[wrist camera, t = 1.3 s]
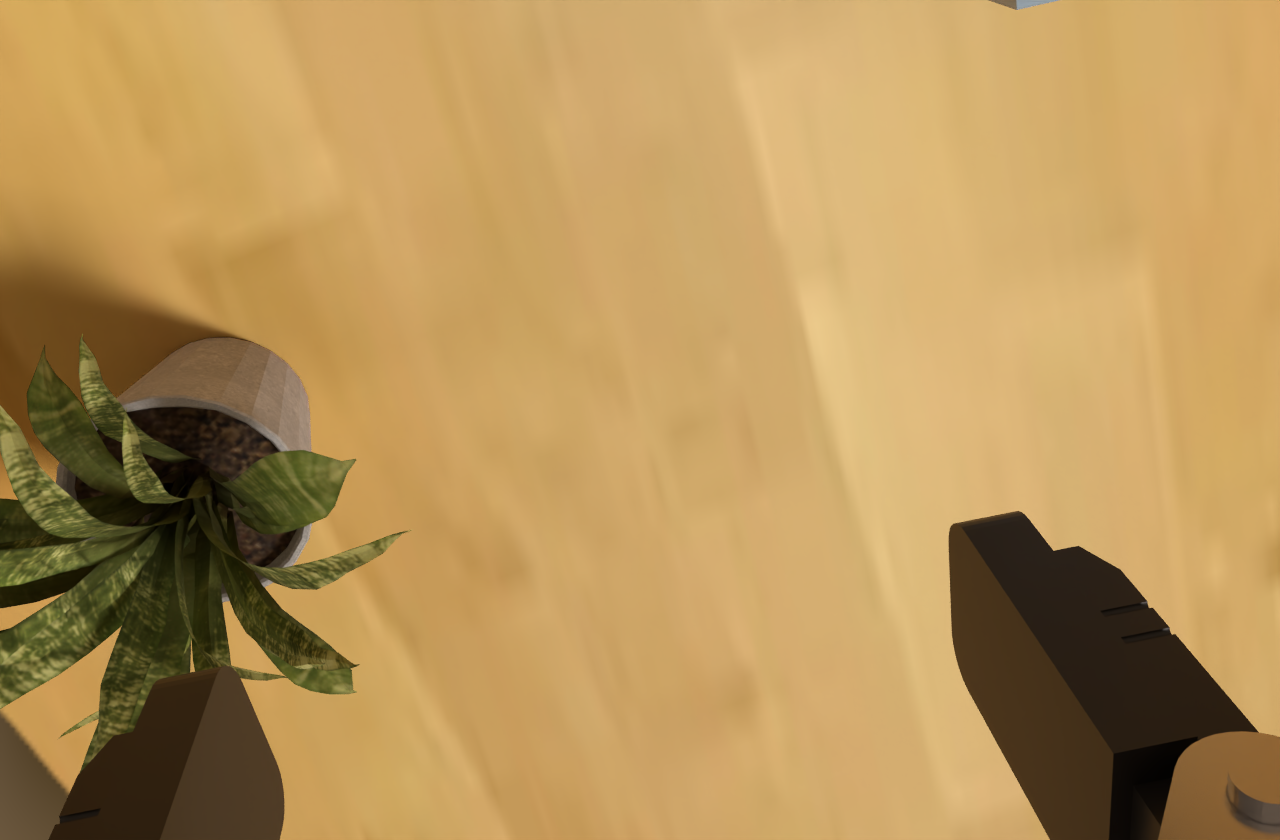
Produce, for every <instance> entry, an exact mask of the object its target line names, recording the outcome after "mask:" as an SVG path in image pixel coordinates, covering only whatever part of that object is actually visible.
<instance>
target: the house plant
mask: <svg viewBox="0 0 1280 840" xmlns="http://www.w3.org/2000/svg"><path fill="white" fill-rule="evenodd" d="M79 351H80V361H79V378H80V387H81V396H82V399H83V402H84V405H85V408H86V410H87V412H88V414H89V416H90V418H91V419H90V418H89V416H88V414H87V412H86V411H85V409H84V407H83V406H82V404H81V402H80V401H79V400H78V398H77V397H76V396H75V395H74V393H73V392H72V391H71V390H70V388H69V387H68V386H67V385H66V384H65V383H64V382H63V381H62V380H61V379H60V378H59V377H58V376H57V375H56V374H55V373H54V371H53V369H52V368H51V366H50V365H49V363H48V361H47V360H46V358H45V345H44V348H43V351H42V354H41V358H40V361H39V363H38V366H37V368H36V371H35V373H34V376H33V379H32V381H31V384H30V386H29V389H28V391H27V405H28V415H29V418H30V421H31V424H32V427H33V430H34V433H35V434H36V436H37V437H38V438H39V440H40V441H41V443H42V444H43V446H44V447H45V448H46V449H47V450H48V451H49V452H50V453H51V454H52V455H53V456H54V457H55V458H56V459H57V460H58V461H59V462H60V463H59V465H58V467H57V477H56V483H55V482H54V481H53V480H52V479H51V478H50V477H49V476H48V475H47V474H46V473H45V472H44V471H43V470H42V469H41V468H40V466H39V465H38V463H37V461H36V459H35V457H34V455H33V453H32V451H31V449H30V447H29V445H28V443H27V441H26V439H25V437H24V435H23V433H22V431H21V429H20V427H19V426H18V425H17V424H16V423H15V421H14V420H13V419H12V418H11V417H10V416H9V415H8V414H7V412H6V411H5V410H4V409H3V408H2V407H1V405H0V452H1V455H2V458H3V461H4V464H5V467H6V471H7V474H8V476H9V479H10V482H11V485H12V488H13V491H14V493H15V495H16V496H17V498H18V500H11V499H0V608H6V607H11V606H17V605H22V604H28V603H34V602H38V601H41V600H44V599H47V598H50V597H53V596H56V595H59V594H62V593H65V592H66V593H65V594H63V595H62V596H60V597H59V598H57V599H56V600H54V601H53V602H51V603H50V604H48V605H47V606H45V607H43V608H42V609H40V610H39V611H37V612H36V613H34V614H33V615H31V616H29V617H28V618H26V619H25V620H23V621H22V622H20V623H18V624H17V625H15V626H14V627H12V628H10V629H6V630H2V631H0V709H1V708H3V707H4V706H6V705H8V704H9V703H11V702H13V701H14V700H16V699H17V698H19V697H21V696H22V695H24V694H26V693H28V692H29V691H31V690H33V689H35V688H36V687H38V686H40V685H42V684H43V683H45V682H47V681H49V680H50V679H52V678H54V677H56V676H58V675H59V674H61V673H62V672H63V671H65V670H66V669H68V668H69V667H70V666H72V665H73V664H75V663H76V662H77V661H79V660H80V659H82V658H83V657H84V656H86V655H87V654H89V653H90V652H91V651H92V650H93V649H95V648H96V647H97V646H98V645H100V644H101V643H102V642H103V641H104V640H106V639H107V638H108V637H109V636H110V635H112V634H113V633H114V632H115V631H116V630H117V629H118V628H119V627H121V626H122V627H121V630H120V632H119V635H118V638H117V640H116V643H115V646H114V648H113V651H112V654H111V657H110V660H109V662H108V665H107V668H106V671H105V674H104V677H103V680H102V683H101V689H100V704H99V711H97V712H96V713H94V714H92V715H90V716H89V717H87V718H85V719H84V720H82V721H81V722H79V723H78V724H76V725H75V726H73V727H72V728H70V729H69V730H68V731H66V732H65V733H64V734H63V735H61V736H60V737H62V736H64V735H65V734H67V733H70V732H72V731H74V730H76V729H78V728H80V727H82V726H84V725H86V724H88V723H90V722H92V721H94V720H97V719H99V723H98V725H97V728H96V730H95V733H94V735H93V738H92V741H91V743H90V746H89V748H88V751H87V754H86V757H85V760H84V763H83V765H82V768H81V771H82V770H83V769H84V768H85V767H86V766H87V765H88V763H89V762H90V761H91V760H92V759H93V758H94V757H95V756H96V755H97V753H98V752H99V751H100V750H101V749H102V748H103V747H104V746H105V745H106V743H107V742H108V741H109V740H110V739H111V738H112V737H113V736H114V735H119V734H124V733H129V732H133V730H134V728H135V725H136V723H137V721H138V718H139V716H140V713H141V711H142V709H143V706H144V704H145V701H146V699H147V697H148V694H149V692H150V690H151V688H152V686H153V684H154V683H155V682H156V681H157V680H159V679H161V678H166V677H171V676H176V675H181V674H186V673H190V655H191V640H192V651H193V662H194V668H195V672H197V671H202V670H207V669H212V668H217V667H222V666H230V667H232V668H233V669H234V670H235V671H236V672H237V674H238V675H239V677H240V678H244V679H251V680H266V681H267V680H272V679H278V678H288V679H290V680H291V681H292V682H293V683H294V684H296V685H298V686H300V687H303V688H305V689H308V690H310V691H314V692H320V693H325V694H351V693H355V692H356V691H354V690H353V683H352V670H351V669H350V668H353V667H356V666H358V665H360V664H358V665H354V664H353V663H351V662H350V661H348V660H347V659H346V658H344V657H343V656H342V655H340V654H339V653H337V652H336V651H335V650H334V649H333V648H332V647H331V646H330V645H329V644H327V643H326V642H325V641H324V640H322V639H321V638H320V637H319V636H317V635H316V634H315V633H313V632H312V631H310V630H309V629H308V628H306V627H305V626H303V625H302V624H301V623H299V622H298V621H297V620H295V619H294V618H293V617H292V616H290V615H289V614H288V613H286V612H285V611H284V610H283V609H281V607H280V606H279V605H278V604H277V602H276V601H275V600H274V599H273V598H272V596H271V595H270V594H269V593H268V591H267V590H266V589H265V588H264V587H266V586H268V585H269V584H271V583H273V582H274V583H276V584H279V585H283V586H286V587H289V588H292V589H319V588H321V587H323V586H325V585H328V584H330V583H332V582H334V581H336V580H337V579H339V578H340V577H342V576H343V575H345V574H346V573H348V572H349V571H351V570H353V569H355V568H357V567H359V566H361V565H363V564H365V563H367V562H369V561H371V560H373V559H374V558H376V557H378V556H379V555H381V554H383V553H384V552H385V551H386V550H387V548H388V547H389V546H390V545H391V544H392V543H393V542H394V541H395V540H396V539H397V538H398V537H399V536H400V535H401V534H402V533H405V532H408V531H405V532H400V533H396V534H393V535H389V536H387V537H384V538H382V539H379V540H376V541H374V542H371V543H369V544H366V545H363V546H360V547H356V548H353V549H350V550H348V551H345V552H342V553H340V554H337V555H334V556H331V557H329V558H325V559H321V560H318V561H314V562H310V563H305V564H300V565H295V566H292V565H293V564H294V563H295V562H296V561H297V559H298V558H299V556H300V554H301V552H302V550H303V549H304V547H305V545H306V543H307V541H308V540H309V536H310V531H311V526H312V523H313V522H316V521H318V520H321V519H323V518H326V517H327V515H328V514H329V513H330V512H331V510H332V509H333V508H334V506H335V504H336V501H337V498H338V496H339V493H340V490H341V487H342V485H343V482H344V479H345V477H346V474H347V472H348V471H349V470H350V468H351V467H352V465H353V464H354V462H355V461H356V459H352V460H346V461H339V460H336V459H333V458H329V457H326V456H323V455H319V454H316V453H313V452H311V430H310V411H309V403H308V396H307V394H306V392H305V389H304V387H303V385H302V382H301V380H300V378H299V377H298V376H297V375H296V373H295V372H294V371H293V370H292V368H291V367H290V366H289V365H288V364H287V363H286V362H285V361H284V360H282V359H281V358H280V357H278V356H277V355H276V354H274V353H273V352H272V351H270V350H268V349H266V348H264V347H261V346H259V345H257V344H255V343H253V342H249V341H245V340H240V339H235V338H230V337H228V338H206V339H203V340H199V341H195V342H192V343H188V344H187V345H185V346H183V347H181V348H180V349H178V350H176V351H175V352H173V353H171V354H170V355H169V356H168V357H166V358H165V359H164V360H163V361H161V362H160V363H159V364H158V365H157V366H155V367H154V368H153V369H152V370H150V371H149V372H148V373H147V374H145V375H144V376H143V377H142V378H141V379H139V380H138V381H137V382H136V383H134V384H133V385H132V386H131V387H129V388H128V389H127V390H126V391H125V392H123V393H122V394H121V395H120V396H118V397H117V398H115V397H114V396H113V395H112V393H111V392H110V391H109V390H108V388H107V387H106V385H105V384H104V383H103V380H102V377H101V373H100V370H99V367H98V364H97V361H96V358H95V356H94V355H93V354H92V352H91V351H90V350H89V348H88V347H87V345H86V344H85V342H84V341H83V333H82V336H81V339H80V345H79ZM410 531H411V530H410ZM226 601H230V603H231V605H232V608H233V610H234V613H235V615H236V616H237V618H238V620H239V621H240V623H241V625H242V626H243V628H244V630H245V632H246V633H247V634H248V635H249V636H251V637H252V638H253V639H254V640H255V641H256V642H257V643H258V644H259V646H260V647H261V648H262V650H263V651H264V652H265V653H266V655H267V656H268V657H269V658H270V660H271V661H272V662H273V663H274V664H275V665H276V667H277V668H278V669H279V670H280V671H281V672H282V673H283V674H284V675H285V676H286V677H285V676H280V675H274V674H267V673H261V672H256V671H252V670H247V669H243V668H238V667H234V666H231V661H230V652H229V645H228V638H227V632H226V625H225V619H224V612H223V605H222V602H226ZM60 737H59V738H60ZM81 771H80V772H81Z"/></svg>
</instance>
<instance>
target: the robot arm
mask: <svg viewBox="0 0 1280 840" xmlns="http://www.w3.org/2000/svg"><path fill="white" fill-rule="evenodd" d="M949 566H950V594H951V622H952V638H953V645H954V650H955V654H956V659H957V662H958V666H959V669H960V672H961V675H962V678H963V680H964V682H965V685H966V687H967V689H968V691H969V693H970V695H971V696H972V698H973V700H974V702H975V704H976V706H977V707H978V709H979V711H980V713H981V715H982V716H983V718H984V720H985V722H986V724H987V726H988V727H989V729H990V731H991V733H992V735H993V736H994V738H995V740H996V742H997V744H998V746H999V747H1000V749H1001V751H1002V753H1003V755H1004V757H1005V758H1006V760H1007V762H1008V764H1009V766H1010V767H1011V769H1012V771H1013V773H1014V775H1015V777H1016V778H1017V780H1018V782H1019V784H1020V786H1021V787H1022V789H1023V791H1024V793H1025V795H1026V797H1027V798H1028V800H1029V802H1030V804H1031V806H1032V807H1033V809H1034V811H1035V813H1036V815H1037V817H1038V818H1039V820H1040V822H1041V824H1042V826H1043V828H1044V829H1045V831H1046V833H1047V835H1048V837H1049V838H1050V840H1280V737H1277V736H1274V735H1269V734H1263V733H1259V732H1258V731H1257V730H1256V729H1255V727H1254V726H1253V725H1252V724H1251V723H1250V722H1249V720H1248V719H1247V718H1246V717H1245V716H1244V715H1243V713H1242V712H1241V711H1240V710H1239V709H1238V707H1237V706H1236V705H1235V704H1234V703H1233V702H1232V700H1231V699H1230V698H1229V697H1228V696H1227V695H1226V693H1225V692H1224V691H1223V690H1222V689H1221V687H1220V686H1219V685H1218V684H1217V683H1216V682H1215V680H1214V679H1213V678H1212V677H1211V676H1210V675H1209V673H1208V672H1207V671H1206V670H1205V669H1204V668H1203V666H1202V665H1201V664H1200V663H1199V662H1198V660H1197V659H1196V658H1195V657H1194V656H1193V655H1192V653H1191V652H1190V651H1189V650H1188V649H1187V648H1186V646H1185V645H1184V644H1183V643H1182V642H1181V640H1180V639H1179V638H1178V637H1177V636H1176V635H1175V634H1173V635H1172V634H1171V633H1170V629H1169V626H1168V625H1167V624H1166V623H1165V622H1164V620H1163V619H1162V618H1161V617H1160V616H1159V615H1158V613H1157V612H1156V611H1155V610H1154V609H1153V608H1149V607H1148V604H1147V600H1146V599H1145V598H1144V597H1143V596H1142V595H1141V593H1140V592H1139V591H1138V590H1137V589H1136V588H1135V586H1134V585H1133V584H1132V583H1131V582H1130V580H1129V579H1128V578H1127V577H1126V576H1125V575H1124V573H1123V572H1122V571H1121V570H1120V569H1118V568H1116V567H1115V566H1113V565H1111V564H1109V563H1108V562H1106V561H1104V560H1102V559H1101V558H1099V557H1097V556H1095V555H1094V554H1092V553H1090V552H1088V551H1086V550H1085V549H1083V548H1081V547H1079V546H1076V547H1071V548H1066V549H1061V550H1056V551H1053V550H1052V548H1051V547H1050V546H1049V545H1048V543H1047V542H1046V541H1045V539H1044V538H1043V537H1042V536H1041V534H1040V533H1039V532H1038V530H1037V529H1036V528H1035V527H1034V525H1033V524H1032V523H1031V521H1030V520H1029V519H1028V518H1027V517H1026V515H1025V514H1023V513H1022V512H1019V511H1016V512H1011V513H1005V514H1000V515H995V516H990V517H985V518H980V519H975V520H970V521H965V522H960V523H955V524H953V525H952V526H951V528H950V531H949ZM59 817H60V824H57V825H55V827H54V829H53V831H52V833H51V835H50V838H49V840H280V835H281V831H282V826H283V820H284V791H283V784H282V779H281V774H280V771H279V768H278V765H277V762H276V760H275V758H274V755H273V753H272V751H271V748H270V746H269V744H268V741H267V739H266V737H265V734H264V732H263V730H262V727H261V725H260V723H259V720H258V718H257V716H256V713H255V711H254V709H253V706H252V704H251V702H250V699H249V697H248V695H247V692H246V690H245V688H244V685H243V683H242V681H241V679H240V677H239V675H238V674H237V672H236V671H235V670H234V669H233V668H232V667H230V666H222V667H217V668H212V669H207V670H202V671H197V672H192V673H186V674H181V675H176V676H171V677H166V678H161V679H159V680H157V681H156V682H155V683H154V684H153V686H152V688H151V690H150V692H149V694H148V697H147V699H146V701H145V704H144V706H143V709H142V711H141V713H140V716H139V718H138V721H137V723H136V725H135V728H134V730H133V732H129V733H124V734H119V735H114V736H113V737H112V738H111V739H110V740H109V741H108V742H107V743H106V745H105V746H104V747H103V748H102V749H101V750H100V751H99V752H98V753H97V755H96V756H95V757H94V758H93V759H92V760H91V761H90V762H89V763H88V765H87V766H86V767H85V768H84V769H83V770H82V771H81V772H80V773H79V775H78V776H77V778H76V781H75V783H74V785H73V787H72V789H71V792H70V794H69V796H68V798H67V801H66V802H65V805H64V807H63V809H62V811H61V813H60V816H59Z"/></svg>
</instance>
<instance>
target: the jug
mask: <svg viewBox="0 0 1280 840" xmlns="http://www.w3.org/2000/svg"><path fill="white" fill-rule="evenodd" d="M989 1H992V2H995V3H998V4H1001V5H1004V6H1007V7H1010V8H1013V9H1016V10H1018V9H1023V8H1027V7H1032V6H1036V5H1041V4H1045V3H1049V2H1054V1H1058V0H989Z"/></svg>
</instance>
